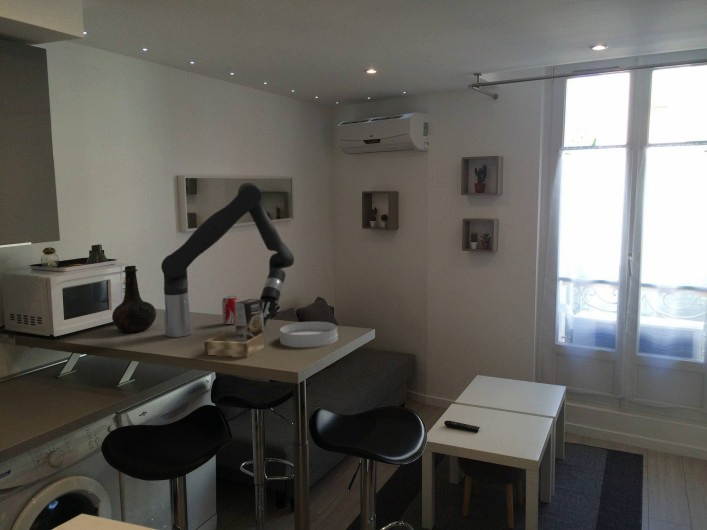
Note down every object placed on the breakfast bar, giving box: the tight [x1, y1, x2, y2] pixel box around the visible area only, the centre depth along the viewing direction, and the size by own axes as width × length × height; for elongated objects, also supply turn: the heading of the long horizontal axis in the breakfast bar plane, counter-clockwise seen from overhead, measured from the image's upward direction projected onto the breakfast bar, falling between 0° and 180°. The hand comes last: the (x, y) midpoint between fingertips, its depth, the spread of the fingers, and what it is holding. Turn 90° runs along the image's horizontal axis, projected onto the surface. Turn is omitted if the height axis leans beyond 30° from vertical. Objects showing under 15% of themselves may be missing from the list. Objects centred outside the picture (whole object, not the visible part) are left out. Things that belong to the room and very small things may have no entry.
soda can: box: [221, 295, 239, 325], centre depth 246 cm, size 7×7×12 cm
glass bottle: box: [111, 265, 157, 333], centre depth 239 cm, size 18×18×28 cm
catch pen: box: [203, 332, 265, 358], centre depth 200 cm, size 16×13×5 cm
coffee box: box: [235, 298, 265, 342], centre depth 211 cm, size 9×6×16 cm
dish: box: [279, 321, 339, 348], centre depth 213 cm, size 22×22×5 cm
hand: (260, 326), depth 220 cm, fingers closed
